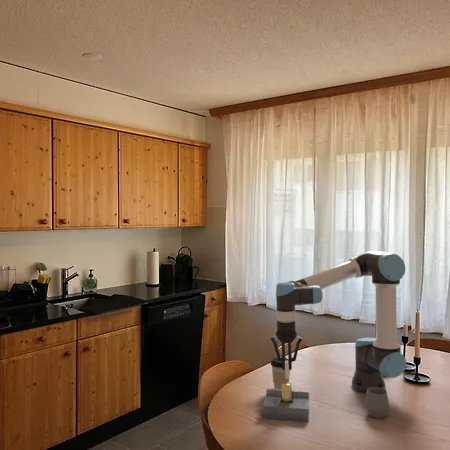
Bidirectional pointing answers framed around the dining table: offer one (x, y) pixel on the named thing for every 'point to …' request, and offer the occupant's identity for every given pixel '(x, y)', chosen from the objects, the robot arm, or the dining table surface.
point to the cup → (376, 402)
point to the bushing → (286, 392)
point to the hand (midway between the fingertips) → (287, 377)
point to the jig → (286, 405)
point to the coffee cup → (278, 373)
